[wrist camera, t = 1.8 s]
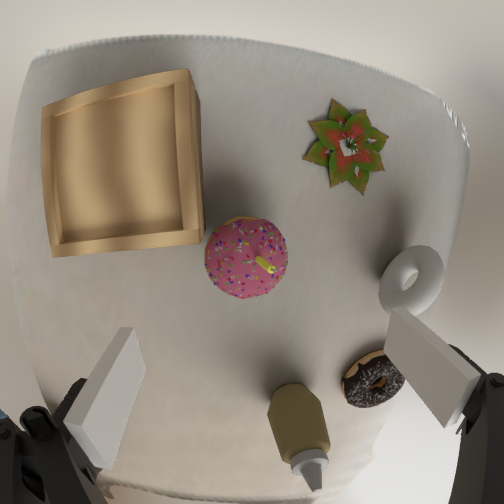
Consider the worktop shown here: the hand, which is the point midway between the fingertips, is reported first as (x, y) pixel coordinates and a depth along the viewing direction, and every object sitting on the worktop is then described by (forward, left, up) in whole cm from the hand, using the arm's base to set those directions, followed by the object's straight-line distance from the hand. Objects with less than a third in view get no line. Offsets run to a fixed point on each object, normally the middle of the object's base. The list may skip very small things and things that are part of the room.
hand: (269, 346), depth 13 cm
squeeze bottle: (+6, -24, -21) cm, 32 cm away
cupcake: (0, 0, -21) cm, 21 cm away
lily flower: (+13, +12, -21) cm, 28 cm away
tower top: (-12, +10, -16) cm, 22 cm away
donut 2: (+20, -4, -21) cm, 29 cm away
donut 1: (+20, -23, -21) cm, 37 cm away
